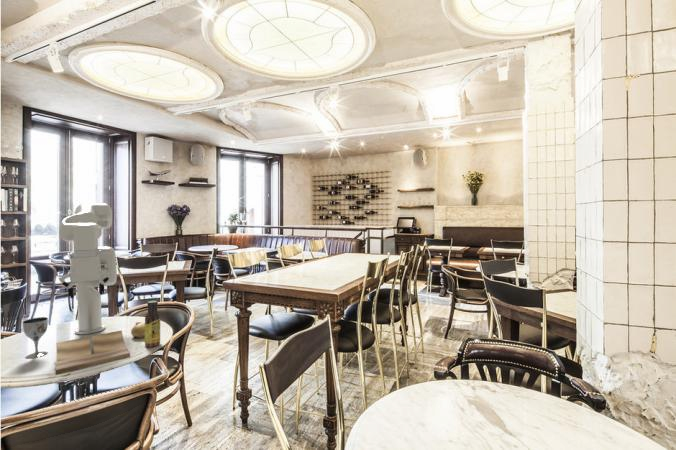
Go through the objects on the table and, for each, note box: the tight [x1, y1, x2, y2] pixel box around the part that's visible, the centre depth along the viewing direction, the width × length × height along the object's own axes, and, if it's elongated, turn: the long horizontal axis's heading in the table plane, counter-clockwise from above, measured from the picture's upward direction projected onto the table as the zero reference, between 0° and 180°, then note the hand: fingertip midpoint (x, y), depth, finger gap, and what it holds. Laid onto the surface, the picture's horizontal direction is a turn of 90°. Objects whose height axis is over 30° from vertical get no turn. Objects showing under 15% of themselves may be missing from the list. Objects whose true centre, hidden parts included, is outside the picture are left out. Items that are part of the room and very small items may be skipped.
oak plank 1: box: [55, 336, 92, 362], centre depth 141 cm, size 10×11×1 cm
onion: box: [130, 321, 145, 339], centre depth 165 cm, size 8×8×7 cm
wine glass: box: [22, 316, 49, 360], centre depth 143 cm, size 8×8×15 cm
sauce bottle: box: [144, 300, 161, 348], centre depth 154 cm, size 6×6×20 cm
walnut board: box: [54, 346, 131, 375], centre depth 138 cm, size 9×24×1 cm, turn 130°
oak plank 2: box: [91, 330, 126, 354], centre depth 149 cm, size 10×11×1 cm
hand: (86, 295), depth 140 cm, fingers open, 9 cm apart
